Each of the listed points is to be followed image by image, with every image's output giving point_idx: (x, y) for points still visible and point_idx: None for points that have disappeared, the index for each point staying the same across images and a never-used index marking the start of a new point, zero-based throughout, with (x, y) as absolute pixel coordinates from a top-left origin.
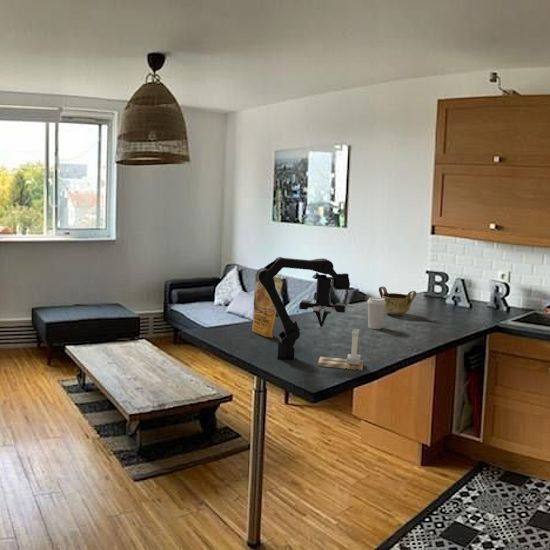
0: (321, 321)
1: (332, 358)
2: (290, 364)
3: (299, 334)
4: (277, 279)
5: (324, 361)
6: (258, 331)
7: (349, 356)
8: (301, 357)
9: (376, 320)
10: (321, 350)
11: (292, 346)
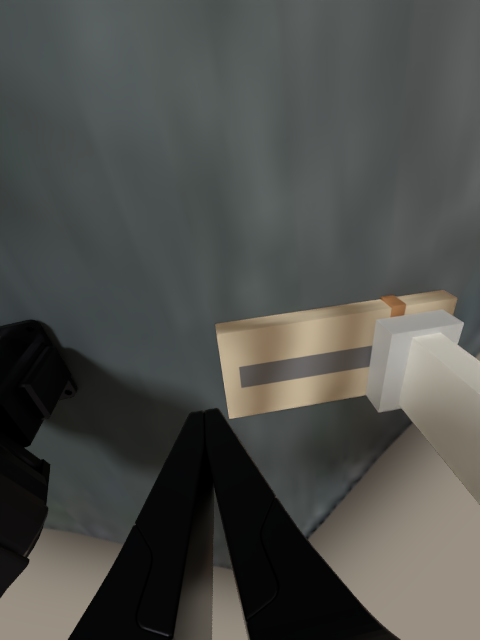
0: (206, 494)
1: (289, 336)
2: (103, 441)
3: (44, 520)
4: None
5: (256, 398)
6: None
7: (395, 376)
8: (96, 322)
9: None
10: (154, 59)
11: (33, 434)
